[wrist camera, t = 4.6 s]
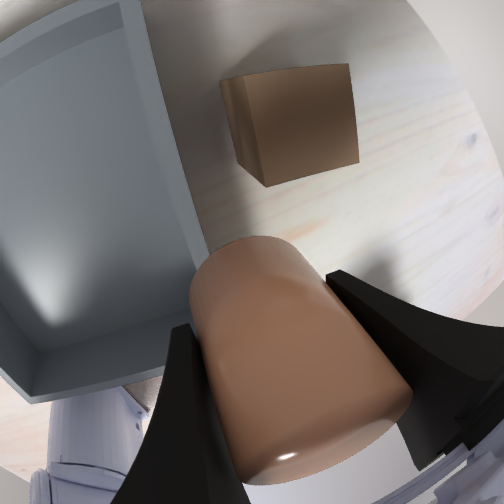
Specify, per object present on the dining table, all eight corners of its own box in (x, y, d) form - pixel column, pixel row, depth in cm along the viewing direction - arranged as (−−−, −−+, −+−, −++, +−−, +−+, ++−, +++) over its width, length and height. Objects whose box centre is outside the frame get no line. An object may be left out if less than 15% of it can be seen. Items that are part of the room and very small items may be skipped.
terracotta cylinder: (312, 311, 14) (395, 432, 8) (211, 351, 13) (259, 494, 7) (299, 217, 11) (432, 351, 5) (169, 264, 10) (206, 456, 5)
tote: (223, 299, 22) (242, 349, 18) (40, 356, 19) (30, 404, 15) (141, 11, 11) (136, -20, 7) (-76, 139, 9) (-120, 160, 4)
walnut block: (312, 143, 18) (359, 162, 14) (237, 162, 17) (266, 187, 13) (300, 67, 15) (348, 63, 11) (218, 81, 14) (243, 75, 10)
